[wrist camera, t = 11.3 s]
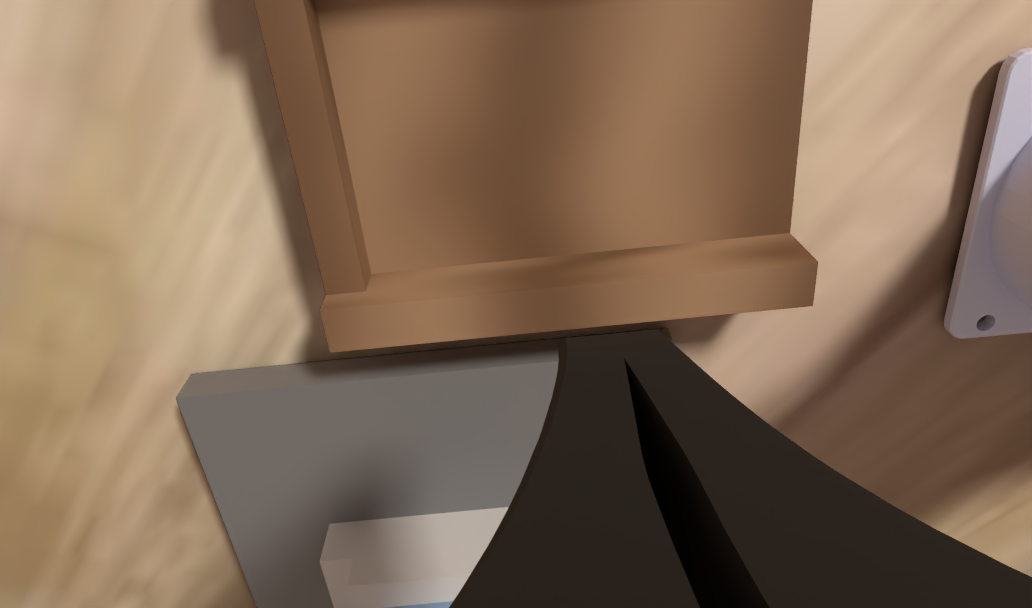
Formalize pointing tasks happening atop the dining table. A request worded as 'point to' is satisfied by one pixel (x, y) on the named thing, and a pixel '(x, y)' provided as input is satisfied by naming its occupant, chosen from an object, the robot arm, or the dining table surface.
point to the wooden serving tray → (542, 161)
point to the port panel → (369, 467)
